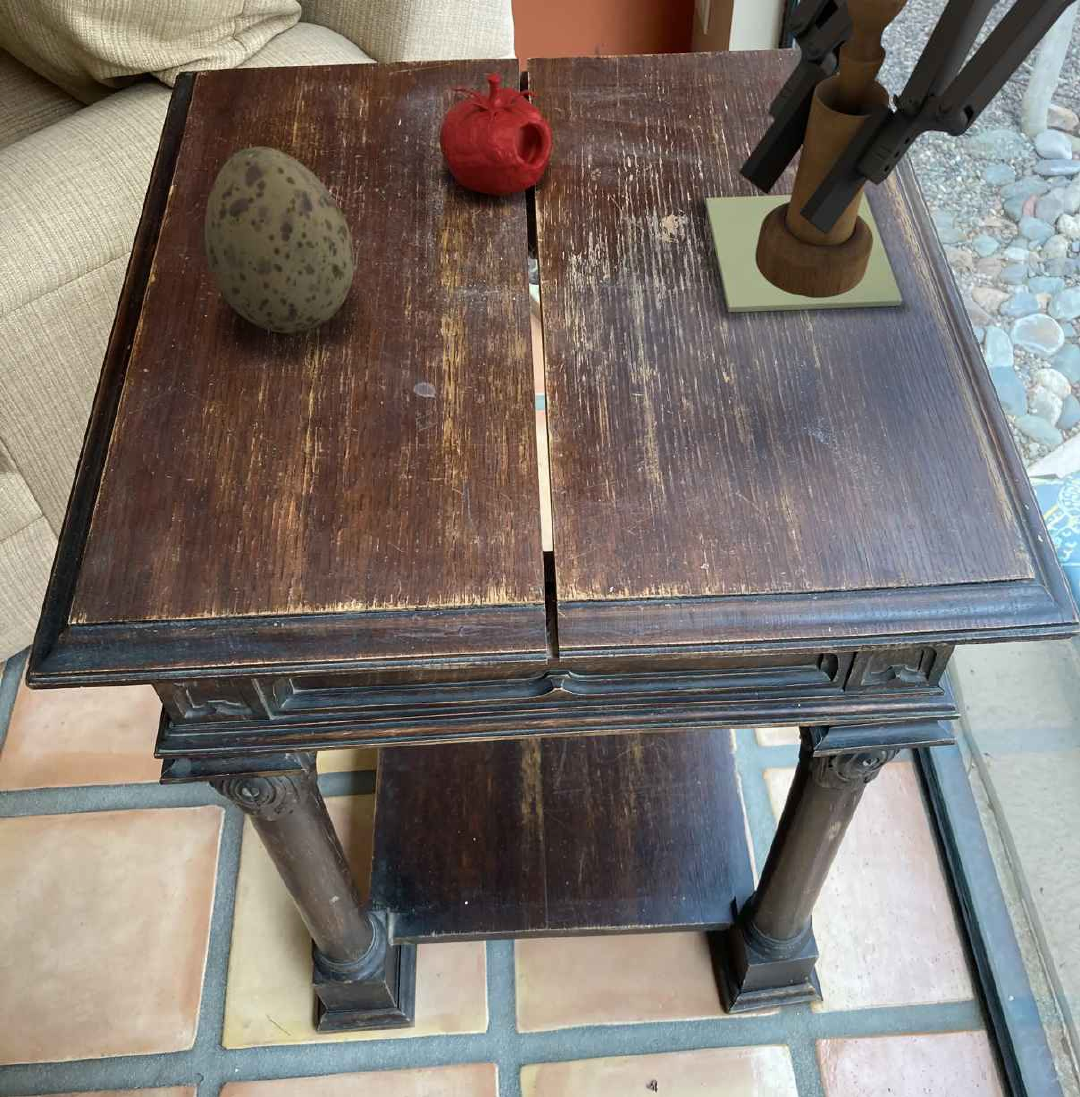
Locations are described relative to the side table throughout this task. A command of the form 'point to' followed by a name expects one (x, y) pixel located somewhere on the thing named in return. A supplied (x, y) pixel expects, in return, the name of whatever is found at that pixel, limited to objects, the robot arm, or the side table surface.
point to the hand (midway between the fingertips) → (783, 203)
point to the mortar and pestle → (835, 118)
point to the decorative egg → (277, 242)
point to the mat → (750, 291)
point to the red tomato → (496, 140)
